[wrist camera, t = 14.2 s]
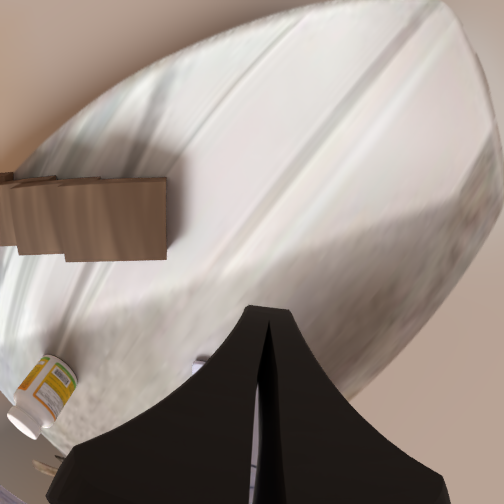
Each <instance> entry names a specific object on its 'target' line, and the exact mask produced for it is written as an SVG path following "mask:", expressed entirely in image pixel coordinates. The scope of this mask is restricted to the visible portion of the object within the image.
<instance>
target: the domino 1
mask: <svg viewBox="0 0 504 504" xmlns="http://www.w3.org/2000/svg"><path fill="white" fill-rule="evenodd" d="M52 180H56V175H55V176H46V177H37V178H29V179H21V180H14V181H7V182H1V183H0V246H17V243H16V237H15V232H14V226H13V219H12V212H11V204H10V194H9V189H10V188H12V187H14V186H16V185H18V184H26V183H34V182H43V181H52Z"/></svg>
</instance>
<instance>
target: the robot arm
mask: <svg viewBox="0 0 504 504" xmlns="http://www.w3.org/2000/svg"><path fill="white" fill-rule="evenodd" d="M46 498H47V500H48V501H49V503H50V504H451V502H450V498H449V494H448V490H447V487H446V484H445V481H444V479H443V477H442V475H440V474H438V473H436V472H434V471H433V470H431V469H430V468H428V467H426V466H424V465H423V464H421V463H420V462H418V461H417V460H415V459H413V458H411V457H410V456H409V455H407V454H406V453H404V452H403V451H402V450H400V449H399V448H398V447H397V446H395V445H394V444H393V443H391V442H390V441H389V440H387V439H386V438H385V437H384V436H383V435H381V434H380V433H379V432H378V431H377V430H376V429H375V428H374V427H372V425H370V424H369V423H368V422H367V421H366V420H365V419H364V418H363V417H362V416H361V415H360V414H359V413H358V412H357V411H356V410H355V409H354V408H353V407H352V406H351V405H350V404H349V403H348V401H347V400H346V399H345V398H344V397H343V395H342V394H341V393H340V392H339V391H338V389H337V388H336V387H335V386H334V384H333V383H332V382H331V380H330V379H329V378H328V376H327V375H326V373H325V372H324V370H323V369H322V368H321V366H320V365H319V363H318V362H317V360H316V358H315V357H314V355H313V353H312V352H311V350H310V348H309V347H308V345H307V343H306V342H305V340H304V338H303V336H302V334H301V332H300V330H299V328H298V326H297V324H296V322H295V320H294V318H293V316H292V313H291V312H290V311H289V310H286V309H278V308H269V307H261V306H253V305H248V306H247V307H245V309H244V312H243V314H242V316H241V318H240V319H239V321H238V323H237V324H236V326H235V327H234V329H233V330H232V331H231V333H230V334H229V335H228V337H227V338H226V339H225V341H224V342H223V343H222V345H221V346H220V347H219V348H218V349H217V350H216V352H215V353H214V354H213V355H212V356H211V357H210V358H209V359H208V361H207V362H202V361H194V362H193V365H192V376H191V377H190V378H189V379H188V380H187V381H186V382H185V383H183V384H182V385H181V386H180V387H178V388H177V389H176V390H175V391H173V392H172V393H171V394H170V395H168V396H167V397H166V398H164V399H163V400H162V401H160V402H159V403H157V404H156V405H154V406H153V407H151V408H150V409H148V410H146V411H145V412H143V413H141V414H140V415H138V416H136V417H135V418H133V419H131V420H130V421H128V422H126V423H125V424H123V425H121V426H119V427H117V428H115V429H113V430H111V431H109V432H106V433H104V434H102V435H100V436H97V437H95V438H93V439H90V440H88V441H86V442H83V443H81V444H78V445H76V446H74V447H73V448H72V450H71V451H70V453H69V454H68V456H67V457H66V458H65V459H64V461H63V462H62V464H61V466H60V467H59V469H58V471H57V473H56V475H55V477H54V479H53V481H52V483H51V485H50V487H49V490H48V492H47V494H46ZM0 504H26V503H25V502H23V501H22V500H20V499H19V498H17V497H16V496H14V495H13V494H12V493H10V492H9V491H8V490H6V489H5V488H4V487H2V486H1V485H0Z"/></svg>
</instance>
